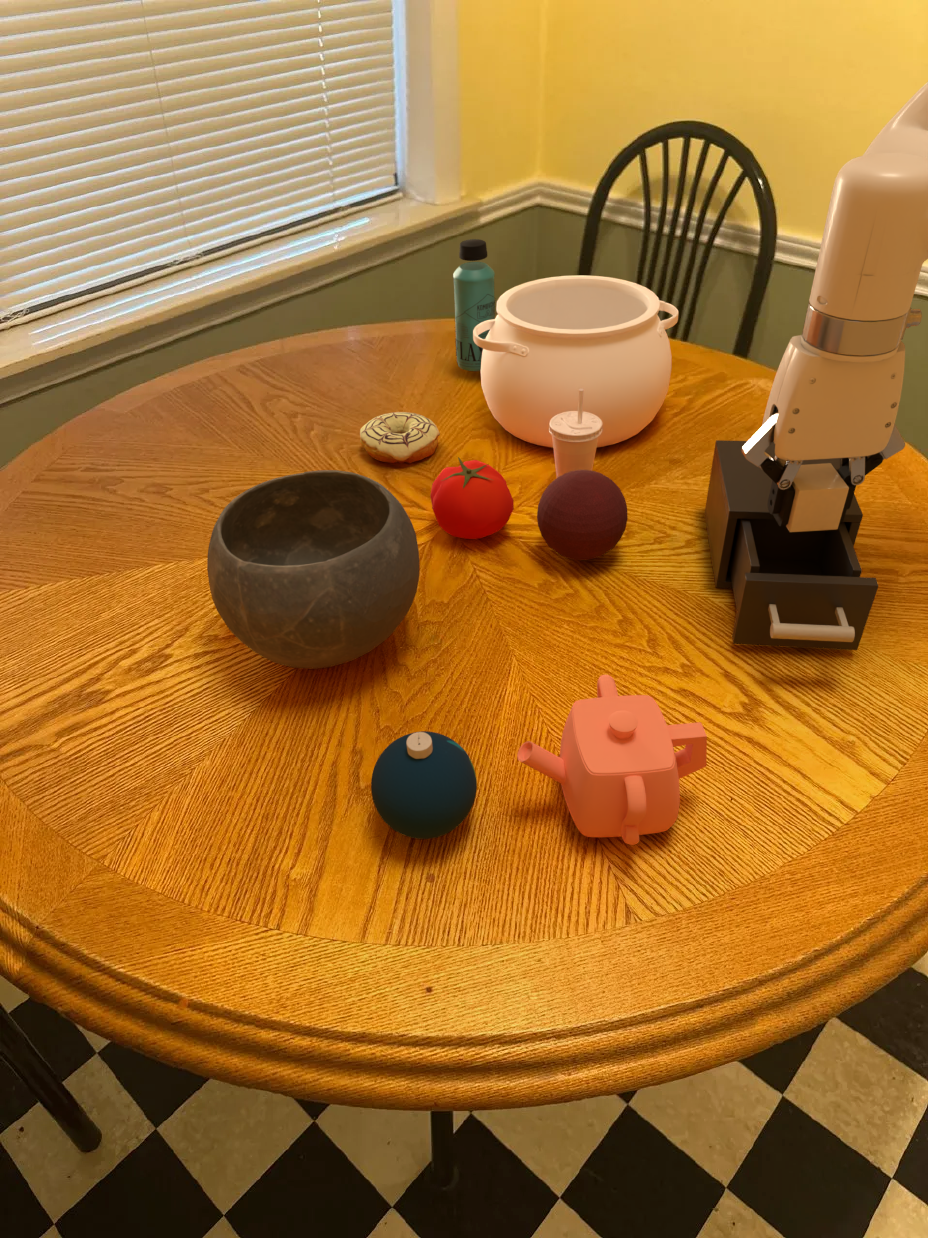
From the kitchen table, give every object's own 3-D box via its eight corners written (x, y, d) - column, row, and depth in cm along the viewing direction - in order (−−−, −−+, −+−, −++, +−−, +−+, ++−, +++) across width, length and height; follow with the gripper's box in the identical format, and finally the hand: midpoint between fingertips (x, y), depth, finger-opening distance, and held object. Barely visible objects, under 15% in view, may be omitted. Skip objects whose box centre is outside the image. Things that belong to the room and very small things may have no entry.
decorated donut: (409, 476, 114) (406, 450, 111) (347, 456, 119) (343, 431, 116) (453, 442, 120) (452, 417, 118) (392, 424, 125) (390, 400, 123)
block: (820, 503, 83) (830, 462, 81) (837, 529, 80) (849, 487, 77) (774, 506, 83) (783, 465, 81) (789, 532, 80) (799, 490, 77)
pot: (502, 474, 113) (500, 354, 102) (456, 391, 133) (450, 283, 122) (704, 441, 117) (722, 322, 107) (630, 365, 137) (639, 259, 127)
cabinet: (840, 593, 91) (863, 515, 85) (715, 588, 93) (729, 510, 86) (814, 516, 102) (833, 442, 96) (704, 513, 104) (715, 439, 98)
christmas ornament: (483, 855, 68) (478, 773, 62) (377, 865, 68) (361, 783, 61) (474, 773, 74) (469, 691, 68) (377, 782, 74) (363, 700, 68)
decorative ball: (533, 529, 103) (534, 455, 96) (617, 525, 103) (623, 451, 96) (540, 580, 95) (541, 503, 89) (630, 576, 95) (638, 498, 89)
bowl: (413, 565, 98) (400, 447, 89) (439, 688, 83) (428, 562, 73) (233, 590, 96) (201, 472, 87) (226, 721, 81) (186, 595, 71)
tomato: (456, 500, 109) (452, 440, 103) (529, 520, 104) (529, 459, 99) (416, 538, 102) (410, 477, 97) (492, 561, 98) (490, 498, 93)
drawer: (867, 680, 80) (890, 615, 74) (737, 673, 81) (751, 608, 76) (830, 566, 93) (847, 504, 88) (719, 562, 95) (730, 501, 89)
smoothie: (578, 511, 105) (583, 405, 96) (537, 494, 109) (538, 390, 100) (608, 489, 109) (616, 385, 100) (568, 473, 112) (571, 371, 103)
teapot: (512, 806, 72) (510, 727, 65) (601, 728, 78) (607, 648, 72) (626, 890, 65) (636, 810, 59) (713, 797, 71) (730, 716, 65)
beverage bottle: (448, 375, 138) (440, 244, 125) (472, 360, 142) (466, 232, 129) (482, 384, 134) (478, 250, 122) (505, 368, 139) (503, 238, 126)
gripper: (934, 304, 73) (877, 490, 85) (735, 316, 73) (706, 501, 84) (979, 338, 67) (911, 533, 79) (763, 351, 67) (727, 544, 79)
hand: (806, 514), depth 81 cm, fingers closed on block, 4 cm apart
